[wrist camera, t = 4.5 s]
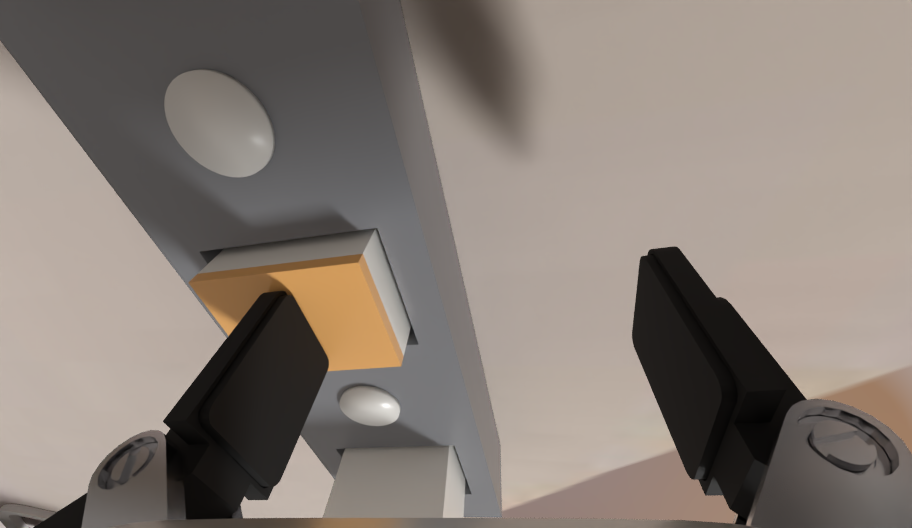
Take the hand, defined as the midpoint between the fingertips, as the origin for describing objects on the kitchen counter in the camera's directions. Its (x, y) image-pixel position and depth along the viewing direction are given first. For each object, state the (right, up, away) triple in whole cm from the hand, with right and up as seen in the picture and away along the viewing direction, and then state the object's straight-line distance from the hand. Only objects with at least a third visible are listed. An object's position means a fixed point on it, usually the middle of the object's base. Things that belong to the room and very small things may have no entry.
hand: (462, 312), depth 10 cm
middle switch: (-4, +2, +4) cm, 7 cm away
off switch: (-3, -8, +9) cm, 12 cm away
